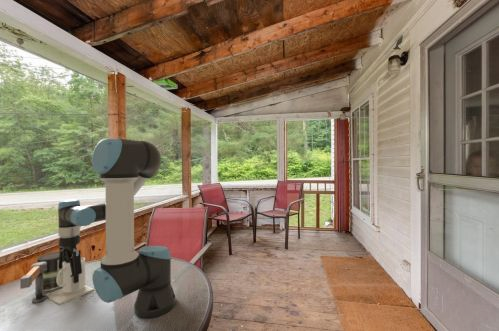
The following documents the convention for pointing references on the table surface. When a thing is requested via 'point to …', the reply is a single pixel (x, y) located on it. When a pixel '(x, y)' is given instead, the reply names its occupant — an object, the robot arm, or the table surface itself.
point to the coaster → (67, 295)
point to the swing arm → (32, 274)
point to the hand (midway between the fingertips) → (70, 287)
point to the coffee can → (50, 271)
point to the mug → (67, 278)
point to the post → (39, 289)
